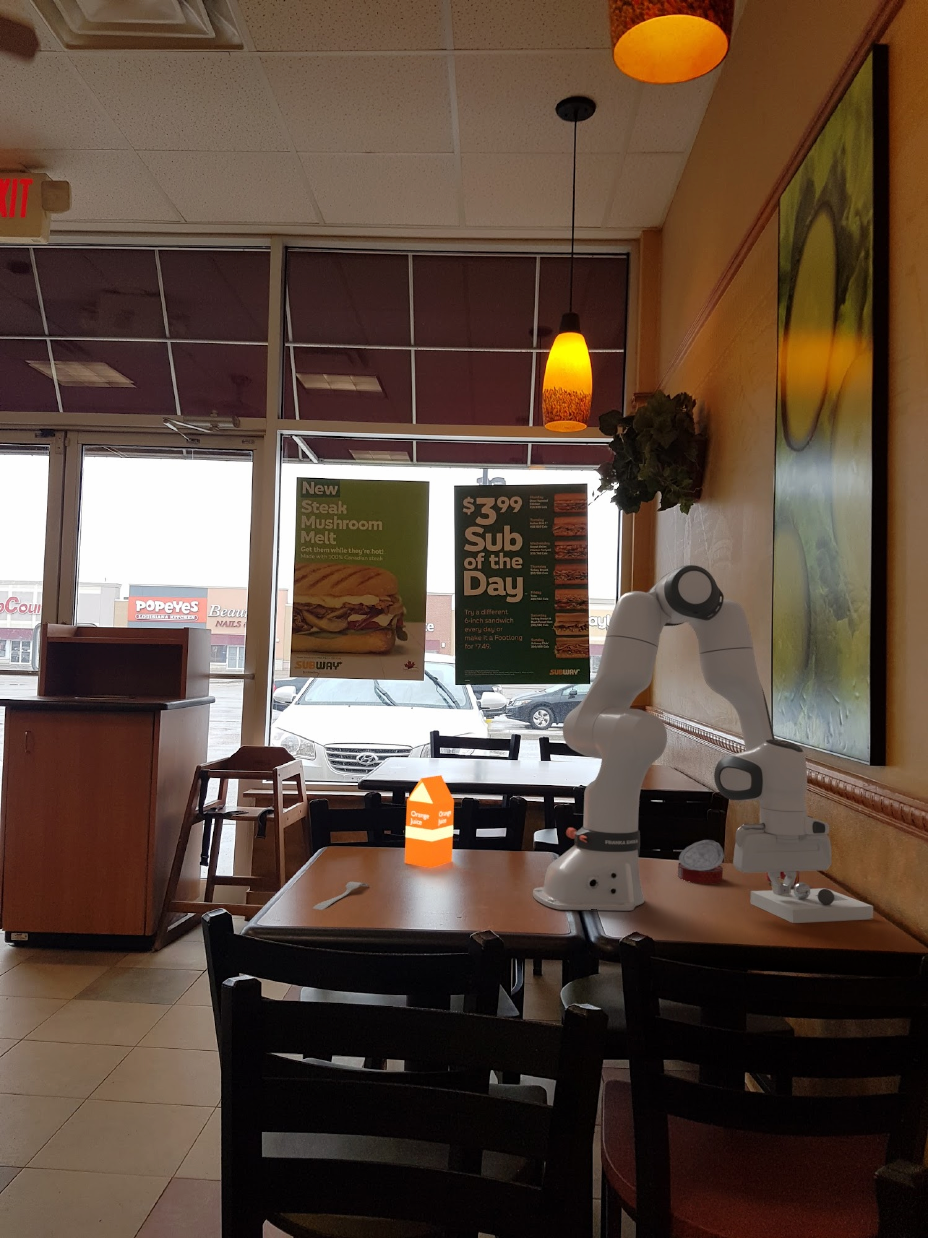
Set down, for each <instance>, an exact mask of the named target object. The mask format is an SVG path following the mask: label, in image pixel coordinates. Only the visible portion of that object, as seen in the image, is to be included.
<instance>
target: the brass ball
mask: <svg viewBox="0 0 928 1238" xmlns="http://www.w3.org/2000/svg"><path fill="white" fill-rule="evenodd" d="M778 880H779V882H780V884H781V883H783V882H784V880H783V879H781V878H778ZM770 887H771V890H773V884H772V883H770Z"/></svg>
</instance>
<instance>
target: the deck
mask: <svg viewBox="0 0 928 1238" xmlns="http://www.w3.org/2000/svg"><path fill="white" fill-rule="evenodd" d="M822 889H828V888H825V887H823V888H810V895H809V897H808V898H806V899H800V898H798V897H796V896H795V894H794V891H793V889H791V894H779V895H777V894H775V893H773V890H772V889H771V890H769V889H768V890H750V901H749V902H750V904H751V905H753V906H754V907H757V908H759V909H761V910H763V911H765V912H768V913H769V914H772V915H774V916H777V917H779V918H781V919H783V920H785V921H788V922H789V923H792V924H800V923H803V924H804V923H805V924H806V923H821V922H842V921H843V922H844V921H845V922H846V921H860V920H861V921H864V920H871V919H870V918H873V919H874V905H871V904H868V903H866V902H863V901H860V900H858V899H855V898H852V897H850V896H847V895H845V894H842V893H839V892H836V891H834V890H832V889H828V890H830V891H831V892H832V893H833V894H834V901H833V903H831V904H830V905H824V904H822V903H821V902H820V901H819V900H818V893H819V891H820V890H822Z"/></svg>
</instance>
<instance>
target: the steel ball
mask: <svg viewBox="0 0 928 1238" xmlns="http://www.w3.org/2000/svg"><path fill="white" fill-rule="evenodd" d="M810 889H811V888H810V885H808V884H807V883H805V882H802V881H799V883H797V884H796V885H795V886H794V887H792V890H793V891H794V894H795V896H796V897H798V898H800V899H806V898H808V897H809V895H810Z"/></svg>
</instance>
